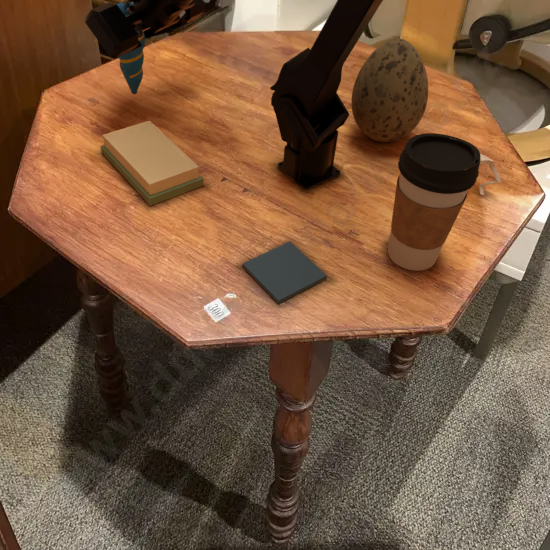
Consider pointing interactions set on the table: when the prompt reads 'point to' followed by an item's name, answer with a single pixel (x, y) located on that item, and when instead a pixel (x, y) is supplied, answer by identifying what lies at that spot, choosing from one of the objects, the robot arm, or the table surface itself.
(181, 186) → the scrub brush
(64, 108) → the table surface
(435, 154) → the coffee cup
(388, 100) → the decorative egg
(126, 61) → the ornament
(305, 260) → the mat
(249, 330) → the table surface
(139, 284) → the table surface
